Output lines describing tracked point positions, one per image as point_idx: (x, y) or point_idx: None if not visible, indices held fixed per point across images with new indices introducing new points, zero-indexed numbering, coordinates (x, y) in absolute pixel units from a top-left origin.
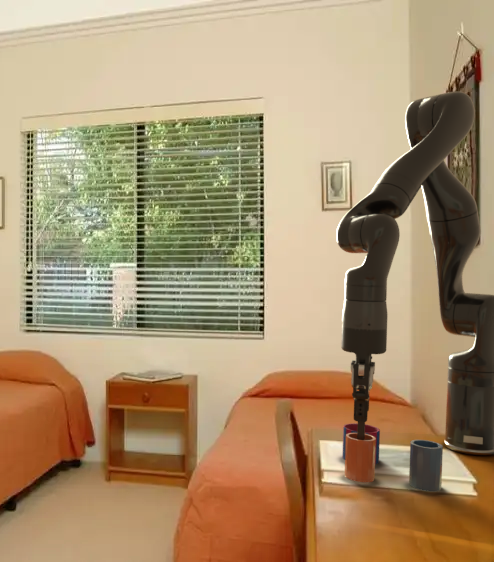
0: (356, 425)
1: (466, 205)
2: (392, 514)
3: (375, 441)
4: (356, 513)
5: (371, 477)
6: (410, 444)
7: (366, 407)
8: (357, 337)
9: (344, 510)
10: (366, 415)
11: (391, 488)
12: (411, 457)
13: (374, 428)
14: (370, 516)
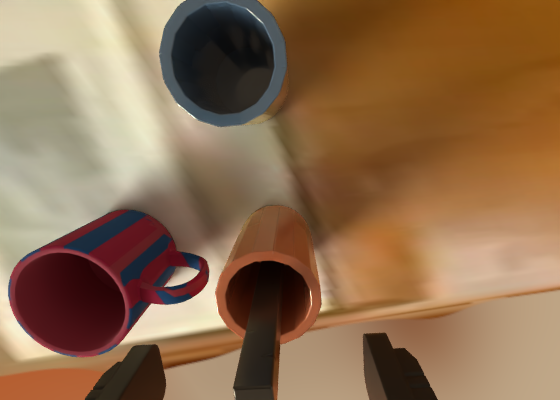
0: (31, 320)
1: None
2: (470, 145)
3: (275, 247)
4: (498, 218)
5: (294, 215)
6: (243, 124)
7: (411, 396)
8: None
9: (490, 242)
10: (395, 355)
11: (290, 163)
12: (261, 118)
13: (29, 264)
14: (503, 189)
